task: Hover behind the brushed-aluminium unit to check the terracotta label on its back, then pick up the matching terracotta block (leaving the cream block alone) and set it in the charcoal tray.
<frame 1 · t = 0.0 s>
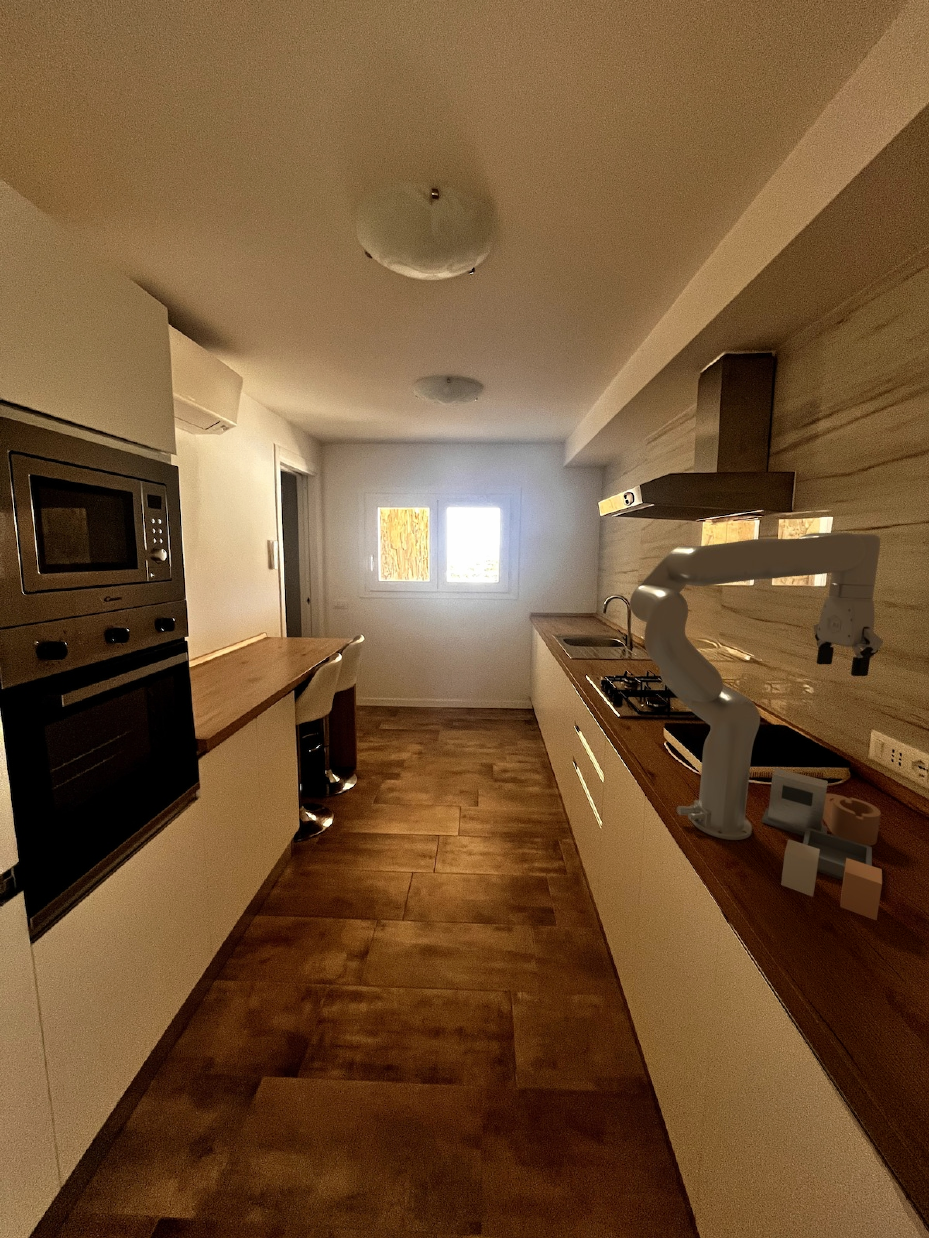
hand: (840, 669, 108), 37 cm above the worktop, tool pointing down, fingers open, 9 cm apart
cream block: (798, 883, 94), on the worktop
terracotta block: (858, 905, 88), on the worktop
mounted unit: (793, 826, 112), on the worktop
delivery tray: (834, 862, 100), on the worktop
bracket: (844, 824, 114), on the worktop
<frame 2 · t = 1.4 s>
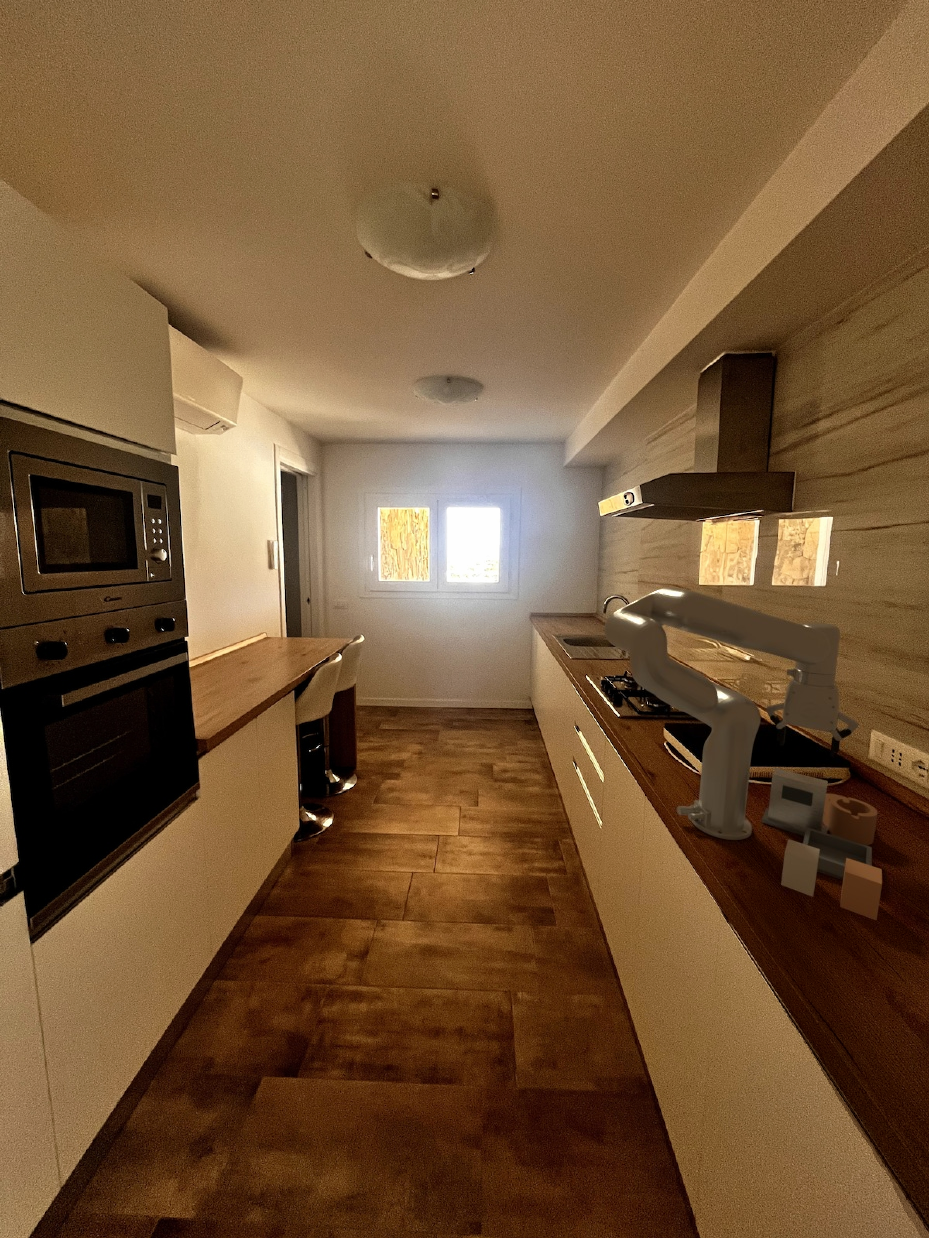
hand: (806, 749, 114), 17 cm above the worktop, tool pointing down, fingers open, 9 cm apart
nothing on the worktop moved.
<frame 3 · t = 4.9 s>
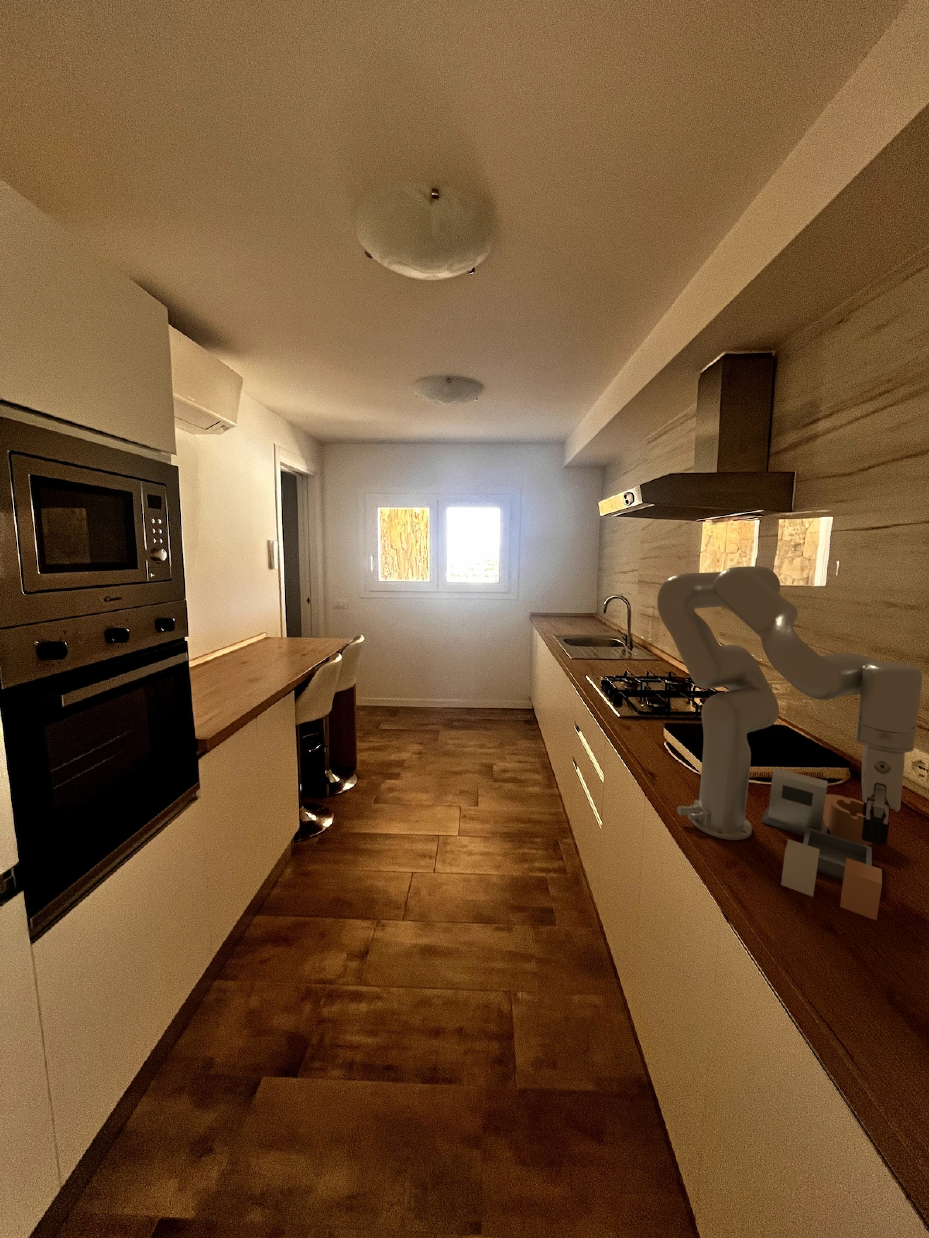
hand: (873, 829, 85), 15 cm above the worktop, tool pointing down, fingers open, 9 cm apart
bracket: (844, 824, 114), on the worktop, touching mounted unit
everything else where it was.
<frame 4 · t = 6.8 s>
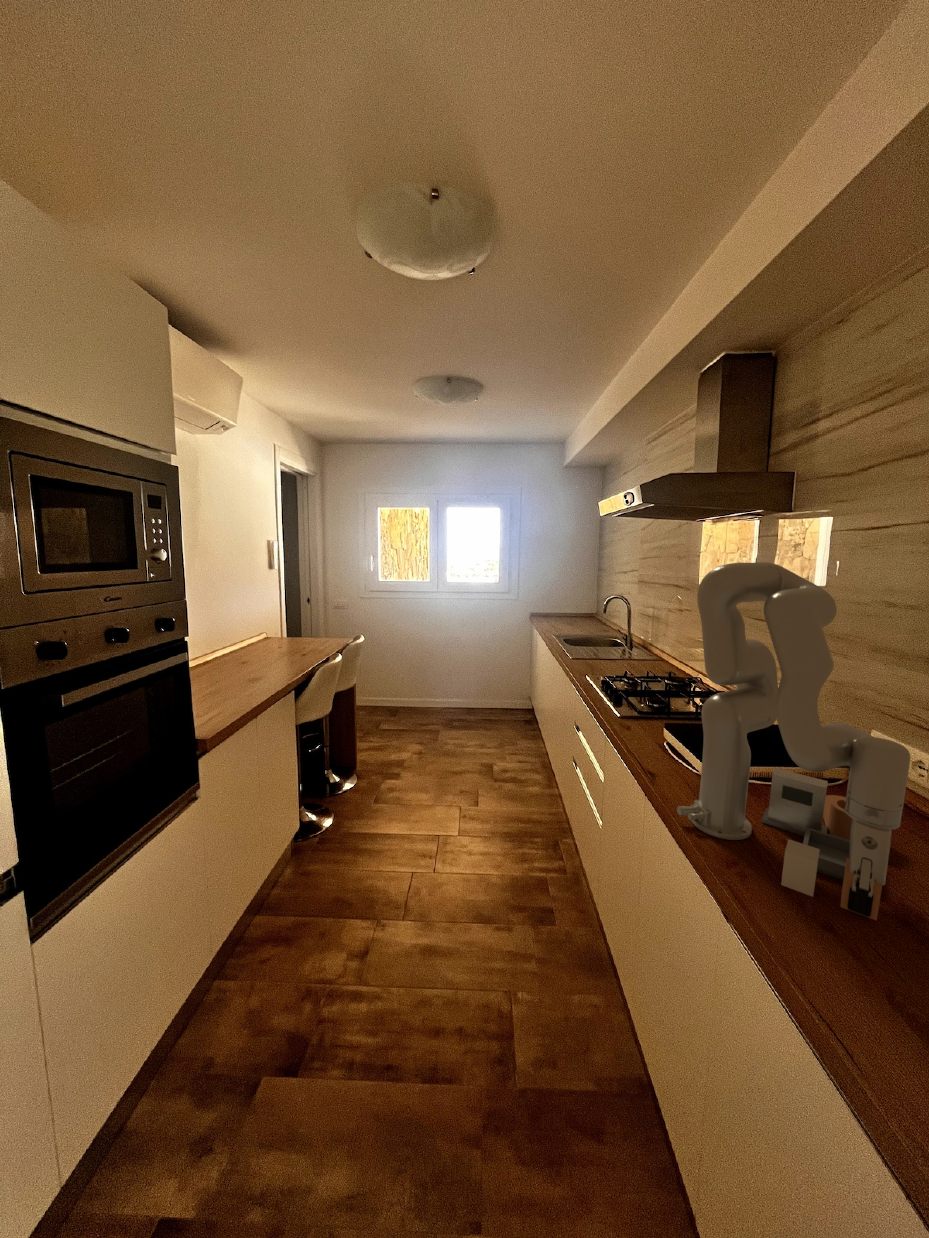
hand: (859, 902, 88), 1 cm above the worktop, tool pointing down, fingers closed on terracotta block, 5 cm apart
terracotta block: (858, 905, 88), on the worktop, touching gripper
bracket: (845, 825, 114), on the worktop
everything else where it was.
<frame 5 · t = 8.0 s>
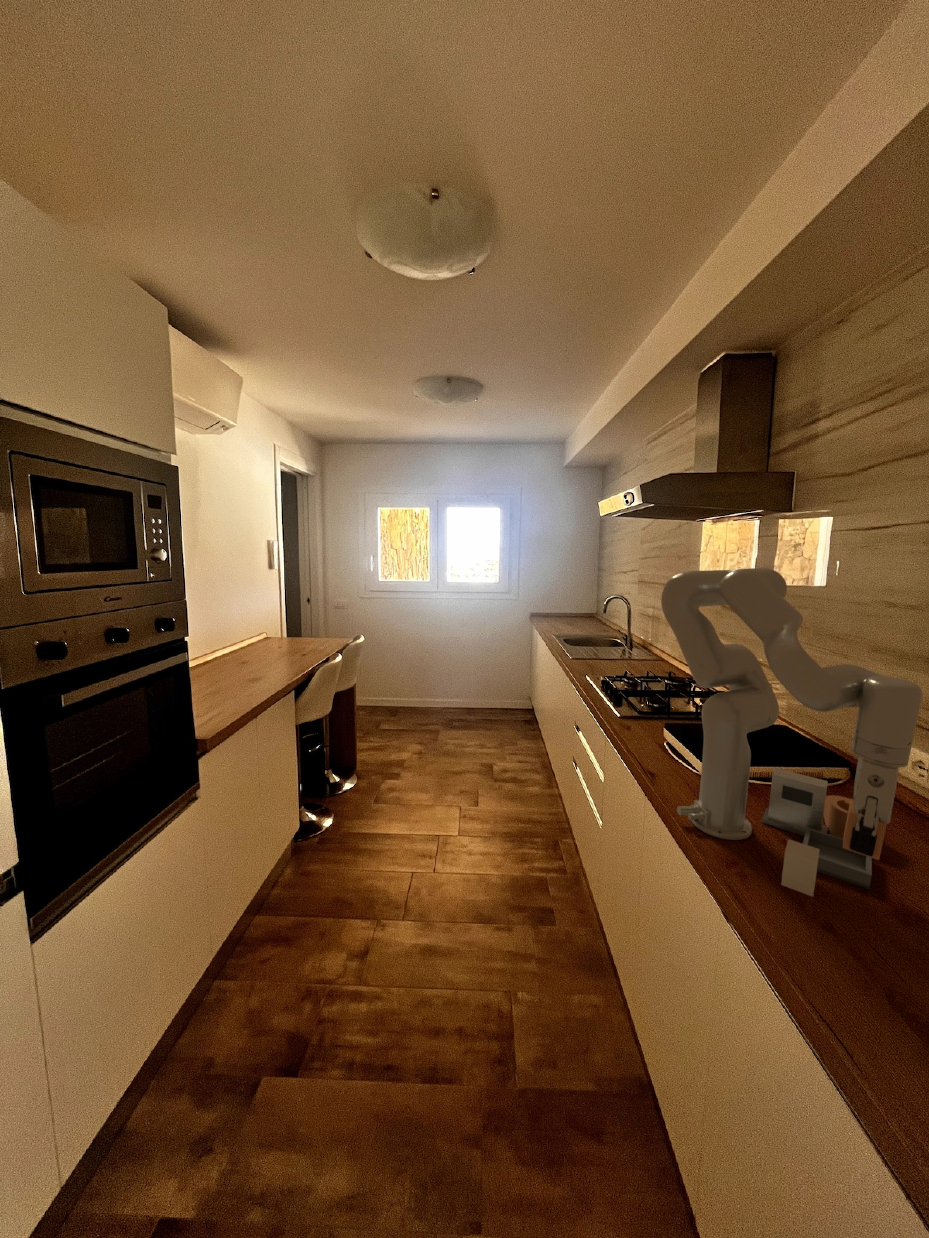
hand: (861, 843, 87), 12 cm above the worktop, tool pointing down, fingers closed on terracotta block, 5 cm apart
terracotta block: (860, 846, 87), point 11 cm above the worktop, touching gripper
everything else where it was.
when the fingers open (3 cm above the worktop, at t = 12.5 s): terracotta block drops 2 cm, resting on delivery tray.
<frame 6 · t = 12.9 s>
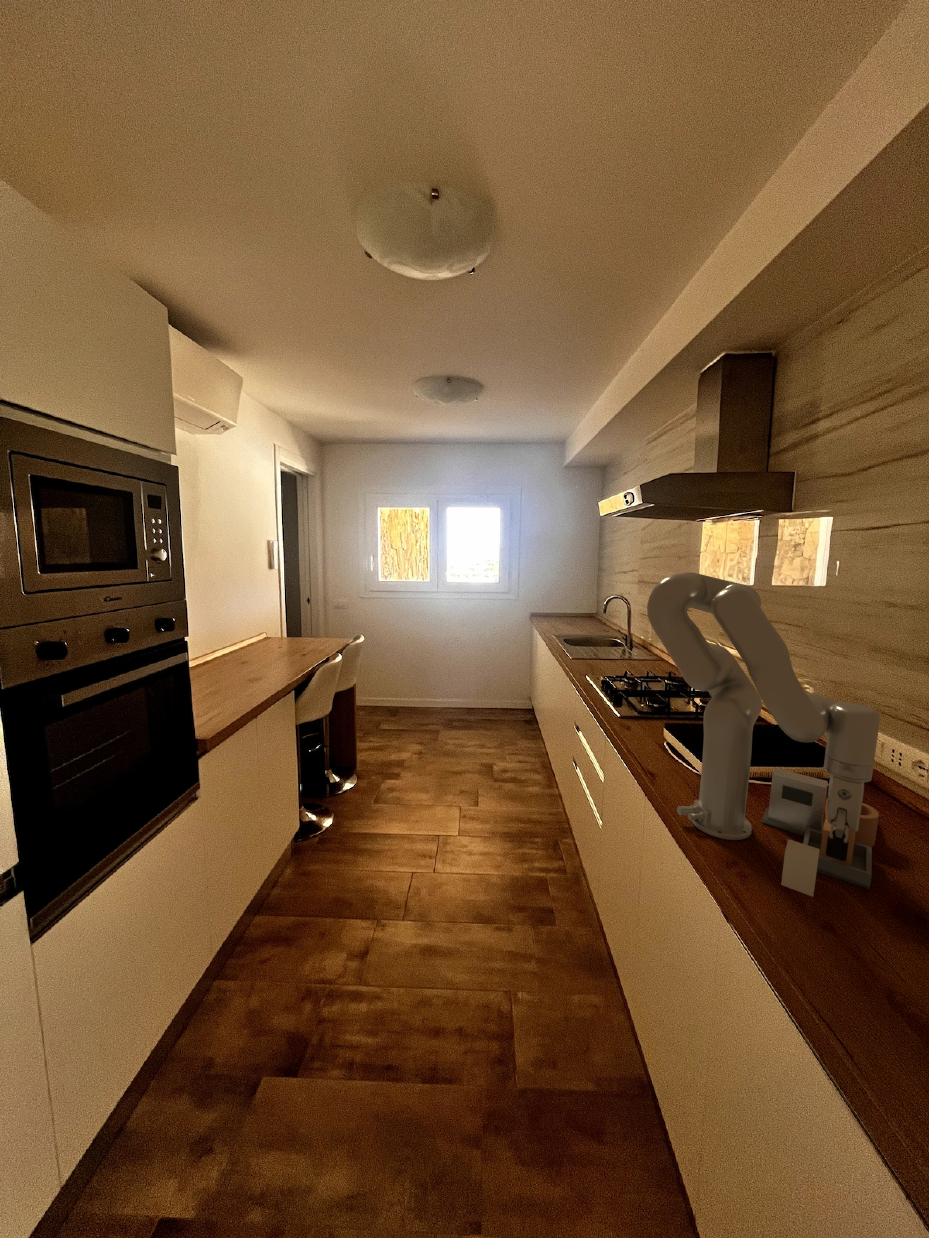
hand: (837, 846, 99), 4 cm above the worktop, tool pointing down, fingers open, 9 cm apart
terracotta block: (835, 860, 100), point 1 cm above the worktop, touching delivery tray
everything else where it was.
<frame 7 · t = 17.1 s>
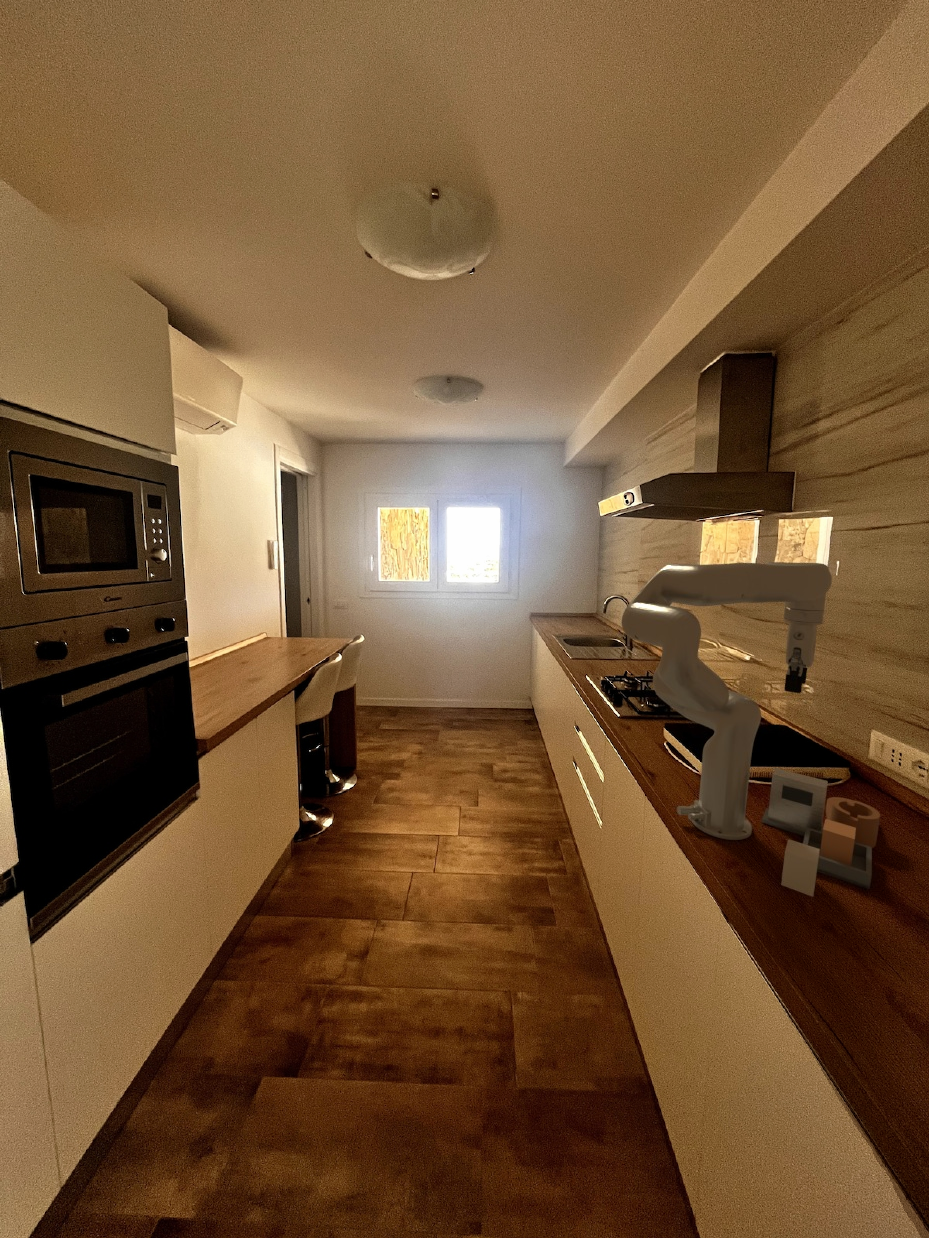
hand: (795, 687, 117), 30 cm above the worktop, tool pointing down, fingers open, 9 cm apart
nothing on the worktop moved.
at the end: terracotta block inside the target area on the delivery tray (0.0 cm from its centre), point 0.6 cm above the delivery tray's base; terracotta block tilted 0°; cream block moved 0.1 cm from its start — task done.
